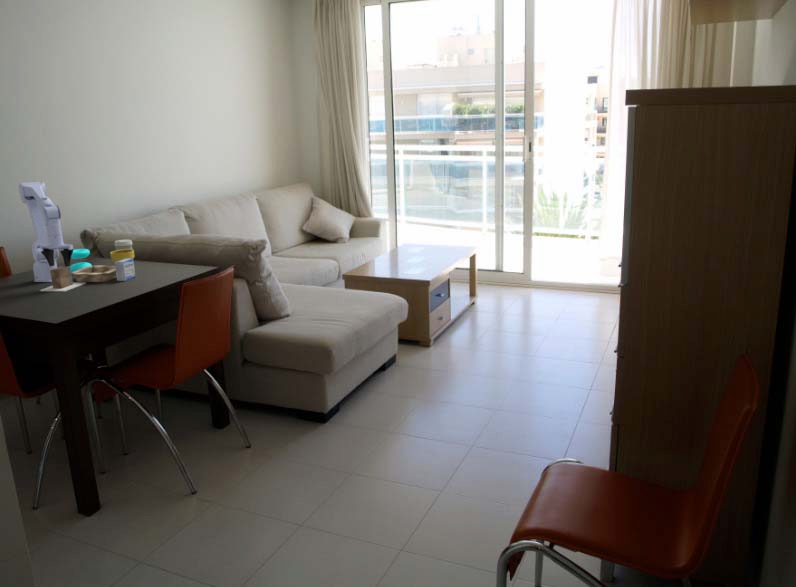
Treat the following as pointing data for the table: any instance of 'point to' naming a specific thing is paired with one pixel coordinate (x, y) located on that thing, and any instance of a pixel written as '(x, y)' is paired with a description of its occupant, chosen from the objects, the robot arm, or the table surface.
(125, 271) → the medicine box
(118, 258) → the plant pot
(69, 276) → the walnut box
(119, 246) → the coffee cup
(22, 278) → the table surface
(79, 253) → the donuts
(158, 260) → the table surface
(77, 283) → the felt mat
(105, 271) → the carton
